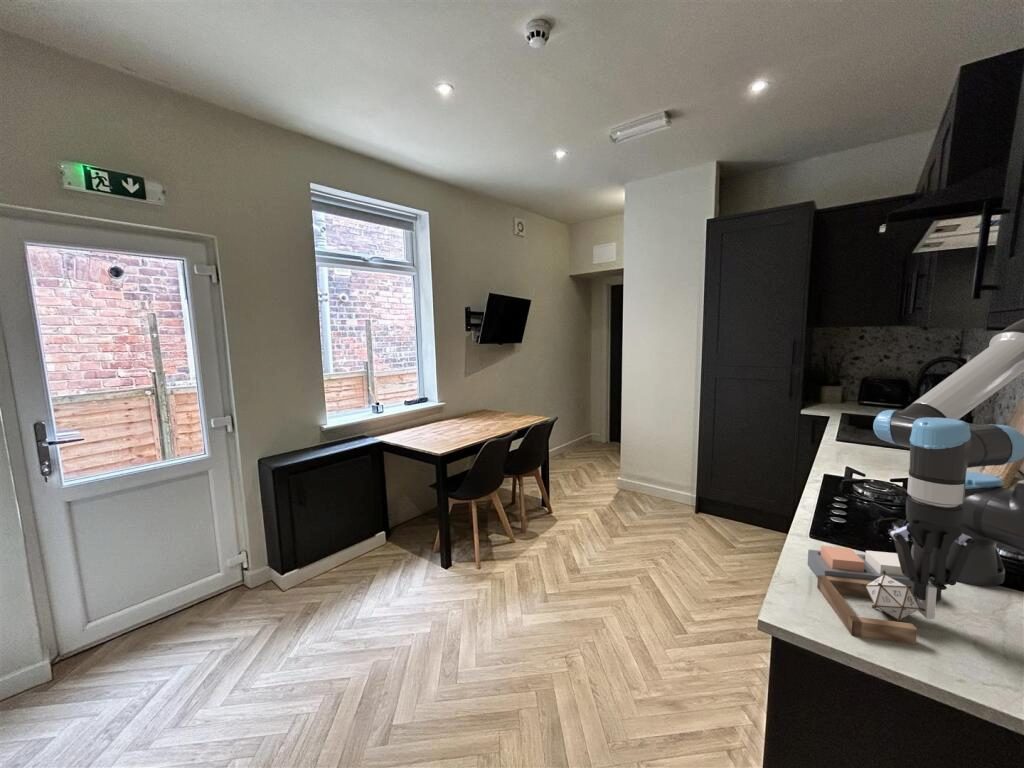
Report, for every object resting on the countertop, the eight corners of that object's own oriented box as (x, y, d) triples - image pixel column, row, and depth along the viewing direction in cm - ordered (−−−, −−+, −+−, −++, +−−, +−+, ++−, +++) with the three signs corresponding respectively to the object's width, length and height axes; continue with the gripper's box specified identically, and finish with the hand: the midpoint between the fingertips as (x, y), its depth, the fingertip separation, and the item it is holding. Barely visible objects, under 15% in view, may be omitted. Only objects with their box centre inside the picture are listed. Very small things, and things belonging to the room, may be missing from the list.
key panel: (901, 574, 95) (902, 558, 95) (928, 598, 87) (929, 581, 86) (807, 564, 101) (808, 549, 100) (823, 586, 92) (824, 570, 92)
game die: (883, 623, 85) (867, 570, 90) (937, 628, 79) (918, 571, 83) (864, 622, 81) (849, 567, 85) (920, 627, 74) (900, 567, 79)
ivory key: (896, 565, 94) (897, 553, 94) (913, 580, 89) (914, 568, 88) (864, 562, 96) (865, 550, 96) (879, 577, 90) (880, 564, 90)
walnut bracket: (870, 593, 89) (871, 580, 89) (916, 644, 75) (917, 629, 75) (817, 587, 92) (817, 575, 92) (851, 635, 78) (852, 620, 78)
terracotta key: (849, 560, 97) (850, 548, 96) (863, 574, 91) (864, 562, 91) (820, 557, 98) (821, 545, 98) (832, 571, 93) (832, 559, 92)
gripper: (961, 494, 79) (951, 606, 82) (881, 490, 83) (875, 598, 85) (994, 510, 72) (982, 632, 75) (906, 505, 76) (897, 622, 78)
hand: (925, 614), depth 80 cm, fingers closed
